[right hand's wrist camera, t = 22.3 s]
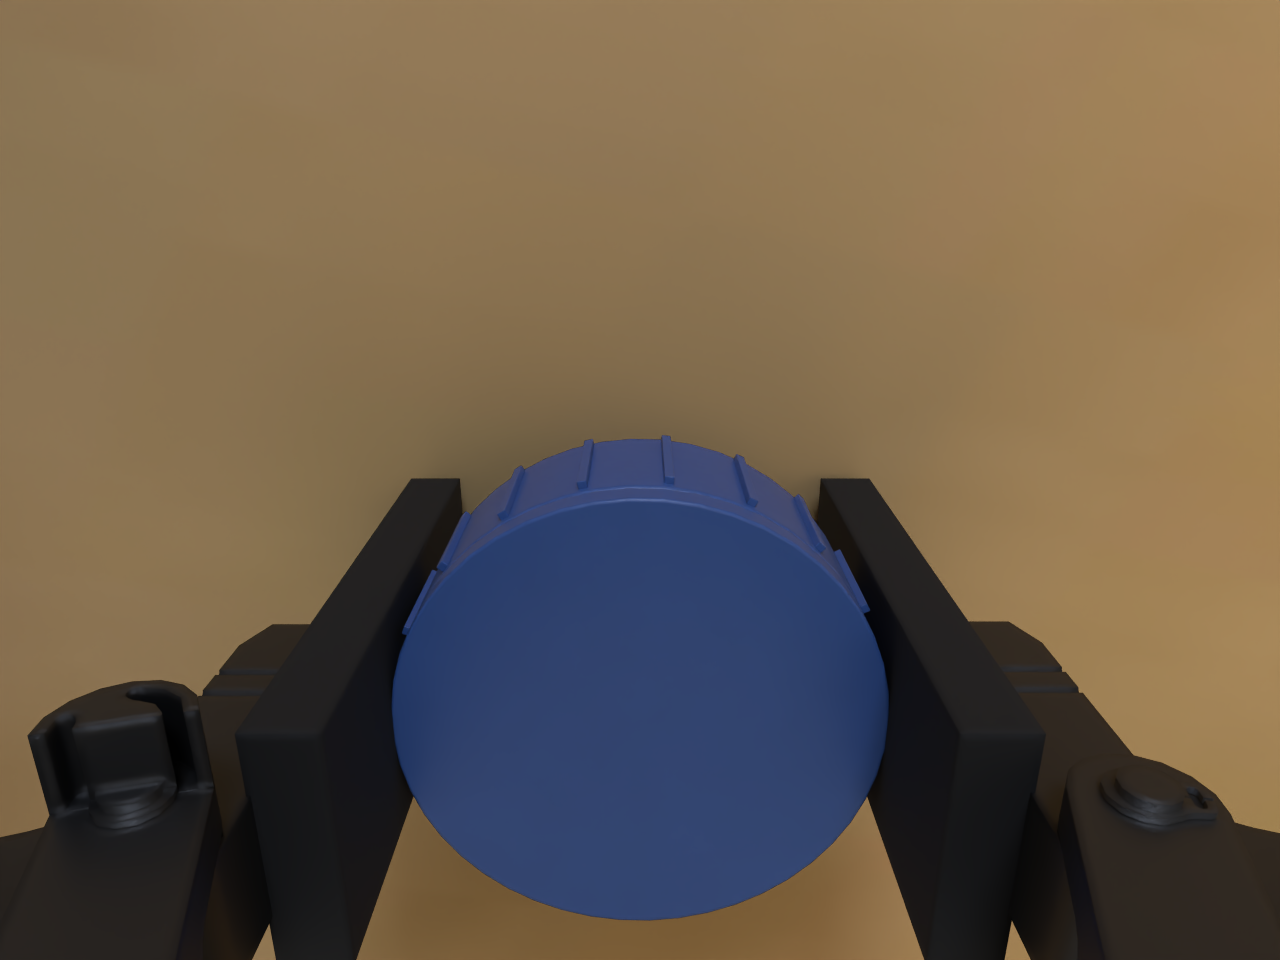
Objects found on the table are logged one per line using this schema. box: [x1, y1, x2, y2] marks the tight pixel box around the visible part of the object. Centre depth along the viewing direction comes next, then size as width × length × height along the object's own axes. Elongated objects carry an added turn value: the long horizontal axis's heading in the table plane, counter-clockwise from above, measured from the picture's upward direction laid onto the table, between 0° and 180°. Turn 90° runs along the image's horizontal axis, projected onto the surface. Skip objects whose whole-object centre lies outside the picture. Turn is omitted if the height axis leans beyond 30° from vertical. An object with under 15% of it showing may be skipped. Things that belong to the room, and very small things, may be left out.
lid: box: [392, 435, 889, 920], centre depth 11 cm, size 6×6×2 cm
